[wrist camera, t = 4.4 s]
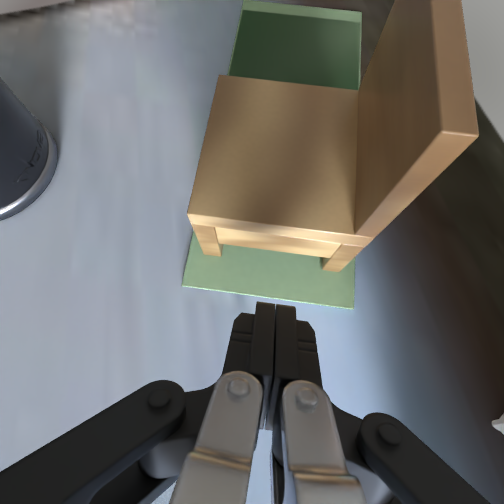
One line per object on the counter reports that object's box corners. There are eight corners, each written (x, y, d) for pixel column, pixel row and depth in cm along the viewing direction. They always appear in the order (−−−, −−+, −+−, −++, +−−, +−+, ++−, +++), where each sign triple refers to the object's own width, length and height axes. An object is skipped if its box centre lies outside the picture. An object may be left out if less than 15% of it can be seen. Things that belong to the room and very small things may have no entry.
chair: (203, 254, 21) (137, 95, 8) (225, 143, 23) (201, -95, 11) (339, 272, 20) (480, 135, 8) (344, 157, 23) (453, -71, 11)
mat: (182, 286, 20) (181, 285, 20) (243, 1, 29) (243, -1, 29) (352, 309, 20) (353, 309, 19) (361, 14, 29) (361, 11, 29)
